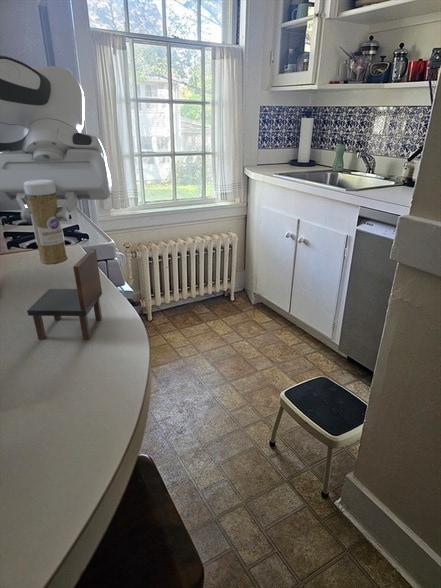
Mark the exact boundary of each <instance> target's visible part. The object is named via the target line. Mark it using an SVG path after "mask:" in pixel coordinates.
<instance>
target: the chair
mask: <svg viewBox="0 0 441 588" xmlns="http://www.w3.org/2000/svg"><path fill="white" fill-rule="evenodd" d="M72 268H73V273H74V279H75V285H76V288H49V289H48V290H47V291H45V292H44V293H43V294H42V295H41V297H39V298H38V299H37V300H36V301H35V302H34V303H33V304H32V305H31V306H30V307H29V308H28V309H27V310H26V313H27V316H29V317H30V316H32V318H33V321H34V327H35V331H36V335H37V339H38V340H45V338H46V337H47V334H46V330H45V325H44V321H43V317H53V319H54V321H61V319H62V317H78V318H79V323H80V330H81V335H82V340H84V341H87V340H88V341H90V339H91V332H90V326H89V321H88V314H89V313H90V312H91V311H92V309H93V311H94V317H95V321H98V322H99V321H102V319H103V314H102V307H101V301H100V298H101V296H102V295H103V289H102V284H101V276H100V270H99V262H98V255H97V249H96V248H91V249H89V250H88V252H86V253H85V254H84V255H83V256H82V257H81V258H80V259H79V260H78V261H77V262H76V263H75V264H74V265H73V266H72Z"/></svg>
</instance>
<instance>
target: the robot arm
mask: <svg viewBox="0 0 441 588" xmlns="http://www.w3.org/2000/svg"><path fill="white" fill-rule="evenodd" d="M85 108H86V107H85V96H84V91H83V88H82V86H81V83H80V82H79V80H78V79H77V78H76V76H75V75H74V74H73V73H72V72H70V71H68V70H67V69H65V68H62V67H61V66H55V65H48V66H45V67H32V66H30V65H28V64H27V63H24V62H22V61H21V60H18V59H15V58H12V57H11V56H10V57H9V56H6V55H1V54H0V202H17V203H18V205H19V206H20V208H21V211H20V219H21V220H22V221H23V222H24V223H29V222H30V223H32V220H31V215H30V214H31V212H30V207H29V202H28V198H27V195H26V194H25V189H24V182H26V181H31V180H53V181H54V183H55V188H56V193H55V194H56V200H57V201H65V202H64V203H63V205H62V206H58V207H57V213H56V217H57V219H58V220H59V221H61V222H69V221H70V214H71V213H72V212H73V210H74V209H75V208H76V207H77V205H78V201H97V200H98V201H99V200H100V201H101V200H103V201H104V200H107V199H108V198H109V197H110V196H111V195H112V178H111V172H110V170H109V167H108V160H107V155H106V152H105V150H104V146H103V145H102V142H101V141H100V139H99V137H97V136H94V135H91V134H88V133H84V132H82V130H83V129H84V125H85V124H84V123H85V122H84V121H85V110H86V109H85Z"/></svg>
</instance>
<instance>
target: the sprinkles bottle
mask: <svg viewBox="0 0 441 588" xmlns="http://www.w3.org/2000/svg"><path fill="white" fill-rule="evenodd" d="M24 189H25V194H26V195H27V198H28V202H29V205H28V208H30V212H31V214H30V215H31V220H32V222H31V223H32V229H33V233H34V239H35V243H36V245H37V247H38V248H37V249H38V253H39V261H40V263H41V264H43V265H57V264H62V263H64V262H66V261H67V260H68V259H69V257H68V254H67V249H66V244H65V236H64V235H65V234H64V230H63V224H62V221H59V220H58V219H57V217H56V213H57V207H59V206H58V200H56V194H55V193H56V188H55V183H54V181H53V180H31V181H26V182H24Z"/></svg>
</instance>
